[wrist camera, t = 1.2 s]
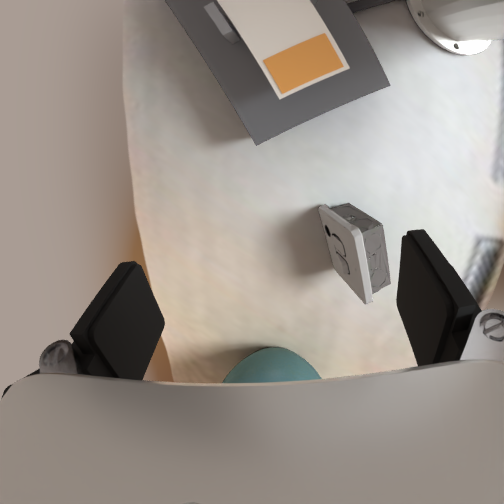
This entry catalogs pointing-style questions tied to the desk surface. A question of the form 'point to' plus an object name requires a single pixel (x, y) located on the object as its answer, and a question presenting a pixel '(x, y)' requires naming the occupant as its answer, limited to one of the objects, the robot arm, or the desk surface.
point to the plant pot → (272, 368)
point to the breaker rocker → (286, 41)
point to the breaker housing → (255, 81)
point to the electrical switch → (356, 249)
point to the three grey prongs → (365, 4)
